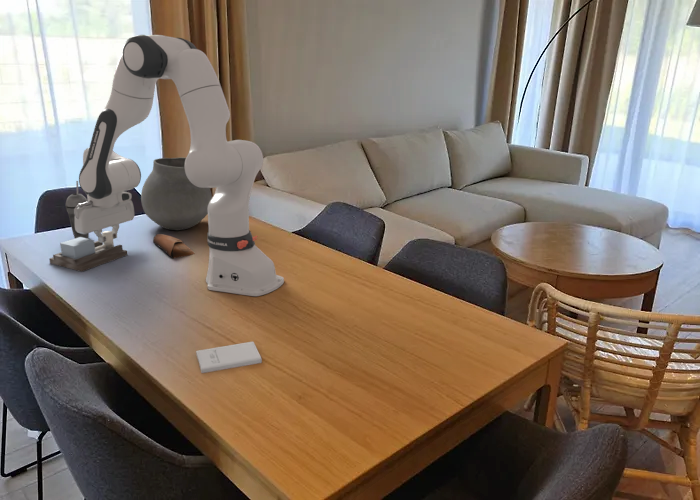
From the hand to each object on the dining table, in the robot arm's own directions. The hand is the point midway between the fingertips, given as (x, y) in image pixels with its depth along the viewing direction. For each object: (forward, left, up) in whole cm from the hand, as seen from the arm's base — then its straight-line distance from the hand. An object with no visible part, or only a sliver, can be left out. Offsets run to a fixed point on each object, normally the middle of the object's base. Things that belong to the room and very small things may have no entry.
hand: (108, 240), depth 180 cm
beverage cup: (+20, -6, -4) cm, 21 cm away
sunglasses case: (-15, -13, -5) cm, 20 cm away
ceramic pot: (+1, -33, -4) cm, 33 cm away
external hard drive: (-76, +34, -5) cm, 83 cm away
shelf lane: (0, +7, -4) cm, 9 cm away
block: (0, +6, -2) cm, 7 cm away
